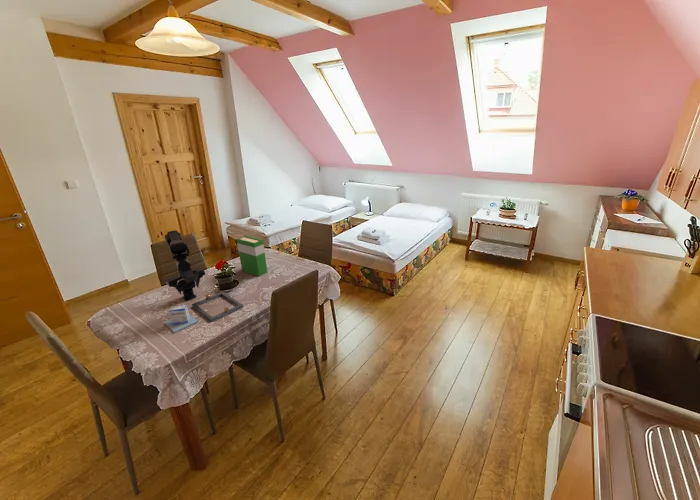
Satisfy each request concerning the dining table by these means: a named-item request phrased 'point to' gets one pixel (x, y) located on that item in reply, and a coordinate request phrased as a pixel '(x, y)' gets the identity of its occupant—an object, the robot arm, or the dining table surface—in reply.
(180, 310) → the medicine box
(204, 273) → the robot arm
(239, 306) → the grey hollow rectangular frame
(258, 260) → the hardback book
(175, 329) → the rubber mat
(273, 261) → the dining table surface
